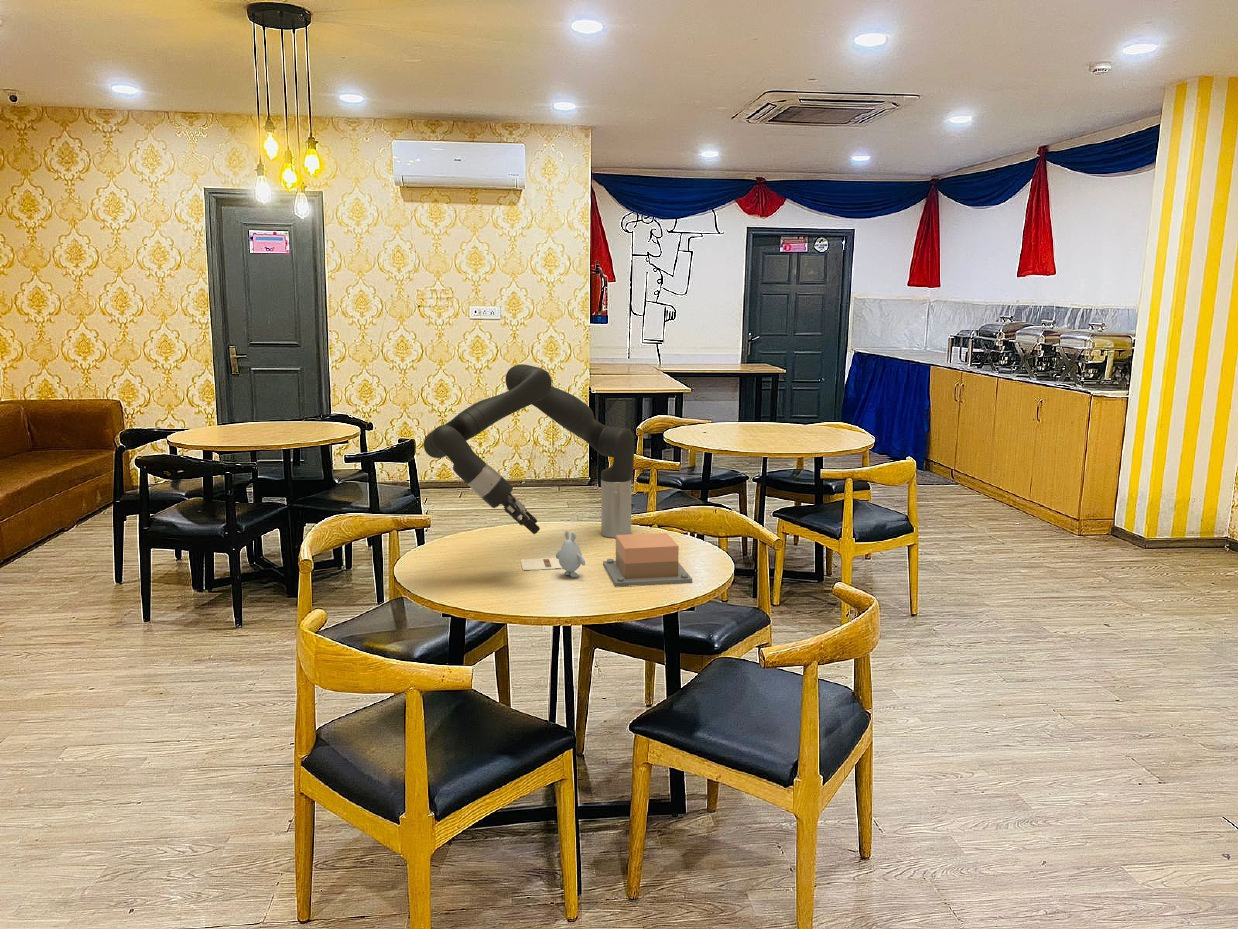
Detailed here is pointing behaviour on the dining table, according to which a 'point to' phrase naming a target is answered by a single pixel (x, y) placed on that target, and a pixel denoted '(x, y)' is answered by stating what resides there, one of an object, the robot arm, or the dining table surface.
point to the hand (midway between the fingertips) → (536, 527)
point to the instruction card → (540, 564)
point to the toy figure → (570, 555)
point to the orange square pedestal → (646, 561)
